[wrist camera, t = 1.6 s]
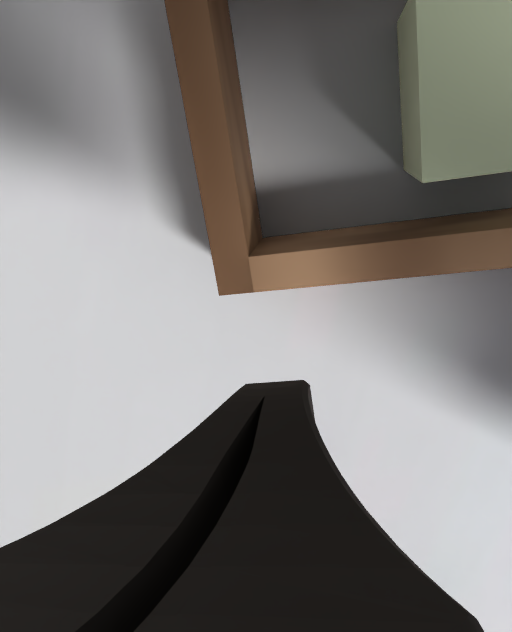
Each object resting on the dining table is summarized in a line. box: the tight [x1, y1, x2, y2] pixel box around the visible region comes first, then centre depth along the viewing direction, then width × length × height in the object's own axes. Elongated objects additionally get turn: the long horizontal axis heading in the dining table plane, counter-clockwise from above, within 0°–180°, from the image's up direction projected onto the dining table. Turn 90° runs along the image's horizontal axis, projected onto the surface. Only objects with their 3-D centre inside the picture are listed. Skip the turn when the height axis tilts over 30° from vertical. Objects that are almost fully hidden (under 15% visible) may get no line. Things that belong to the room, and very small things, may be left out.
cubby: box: [164, 0, 512, 296], centre depth 15 cm, size 13×10×3 cm
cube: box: [397, 0, 512, 183], centre depth 14 cm, size 4×4×4 cm
